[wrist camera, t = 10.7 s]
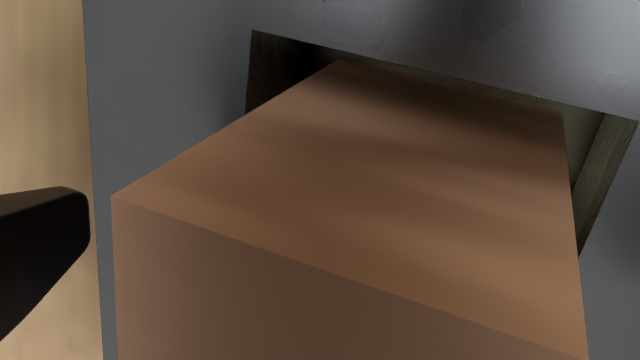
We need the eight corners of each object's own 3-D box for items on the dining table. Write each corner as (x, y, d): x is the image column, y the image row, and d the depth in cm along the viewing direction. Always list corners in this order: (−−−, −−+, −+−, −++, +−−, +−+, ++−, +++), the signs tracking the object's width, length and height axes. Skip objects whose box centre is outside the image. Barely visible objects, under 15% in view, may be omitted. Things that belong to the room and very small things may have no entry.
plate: (1103, -260, 6) (1422, -372, 4) (594, 528, 14) (604, 648, 11) (165, -312, 10) (48, -388, 7) (160, 343, 17) (100, 407, 15)
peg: (561, 111, 10) (589, 361, 4) (493, 297, 12) (446, 642, 6) (338, 58, 11) (110, 196, 5) (311, 236, 13) (124, 479, 7)
